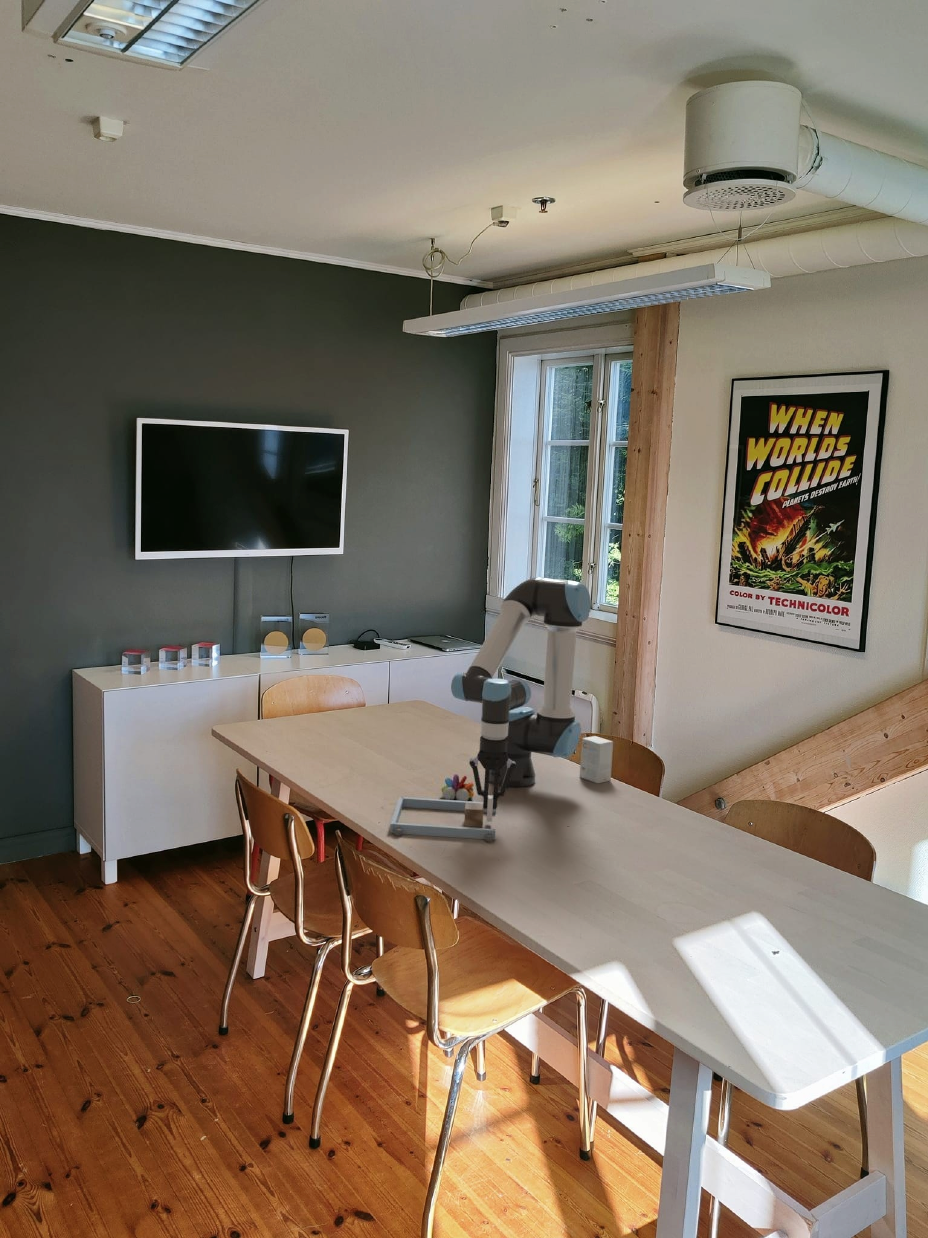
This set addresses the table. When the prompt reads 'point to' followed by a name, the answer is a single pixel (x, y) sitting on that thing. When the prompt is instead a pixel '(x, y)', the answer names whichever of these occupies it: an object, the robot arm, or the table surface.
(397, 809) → the cart frame
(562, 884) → the table surface
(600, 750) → the small box
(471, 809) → the walnut block
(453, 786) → the rainbow segmented toy
